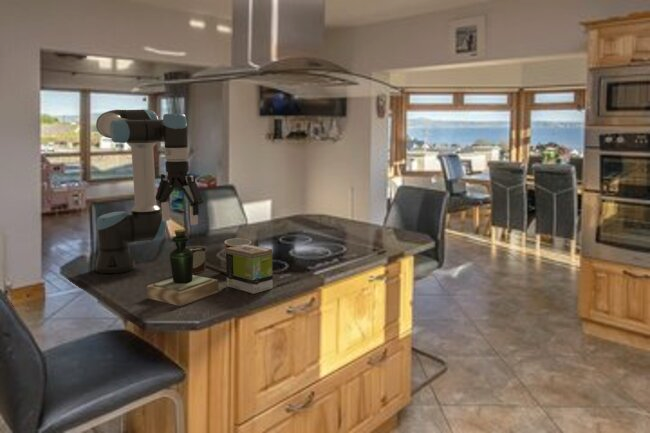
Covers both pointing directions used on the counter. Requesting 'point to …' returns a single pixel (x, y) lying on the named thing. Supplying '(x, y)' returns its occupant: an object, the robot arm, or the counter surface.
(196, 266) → the food container
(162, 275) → the counter surface
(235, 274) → the tea box
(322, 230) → the counter surface
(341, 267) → the counter surface
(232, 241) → the plastic cup
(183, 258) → the potion bottle
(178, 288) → the pedestal base
